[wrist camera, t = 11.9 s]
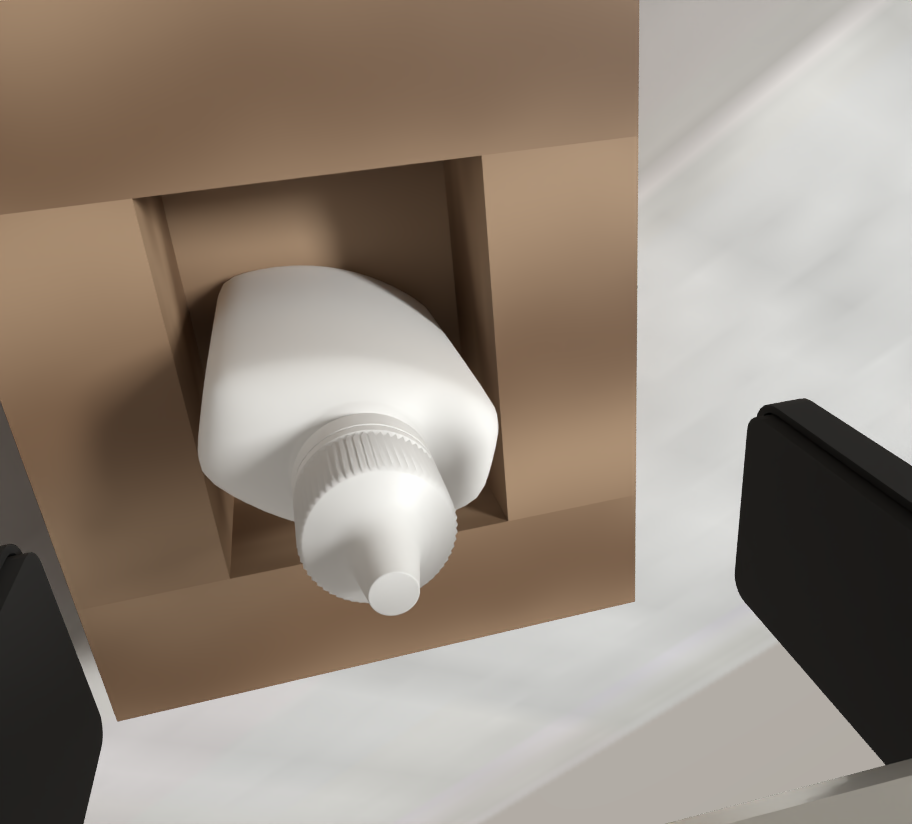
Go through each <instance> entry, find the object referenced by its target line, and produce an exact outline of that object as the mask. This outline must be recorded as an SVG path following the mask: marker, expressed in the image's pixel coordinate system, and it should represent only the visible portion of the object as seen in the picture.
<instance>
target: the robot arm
mask: <svg viewBox="0 0 912 824" xmlns="http://www.w3.org/2000/svg"><path fill="white" fill-rule="evenodd" d="M735 581H736V586H737V589H738V592H739V594H740V596H741V598H742V599H743V600H744V602H745V603H746V604H747V605H748V606H749V608H750V609H751V610H752V611H753V612H754V613H755V614H756V616H757V617H758V618H759V619H760V620H761V621H762V623H763V624H764V625H765V626H766V627H767V628H768V630H769V631H770V632H771V633H772V634H773V635H774V636H775V638H776V639H777V640H778V641H779V642H780V643H781V645H782V646H783V647H784V648H785V649H786V650H787V651H788V653H789V654H790V655H791V656H792V657H793V658H794V660H795V661H796V662H797V663H798V664H799V665H800V666H801V668H802V669H803V670H804V671H805V672H806V673H807V675H808V676H809V677H810V678H811V679H812V680H813V681H814V683H815V684H816V685H817V686H818V687H819V688H820V690H821V691H822V692H823V693H824V694H825V695H826V696H827V698H828V699H829V700H830V701H831V702H832V703H833V705H834V706H835V707H836V708H837V709H838V710H839V712H840V713H841V714H842V715H843V716H844V717H845V718H846V719H847V721H848V722H849V723H850V724H851V725H852V726H853V728H854V729H855V730H856V731H857V732H858V733H859V734H860V736H861V737H862V738H863V739H864V740H865V742H866V743H867V744H868V745H869V746H870V747H871V748H872V750H874V752H875V753H876V754H877V755H878V757H879V758H880V759H881V760H882V761H883V762H884V764H885V766H881V767H878V768H874V769H870V770H866V771H862V772H859V773H855V774H851V775H847V776H844V777H840V778H836V779H832V780H829V781H825V782H821V783H817V784H813V785H809V786H806V787H802V788H798V789H794V790H791V791H787V792H783V793H779V794H776V795H772V796H768V797H764V798H761V799H756V800H753V801H749V802H745V803H741V804H738V805H734V806H730V807H726V808H722V809H719V810H716V811H712V812H708V813H704V814H700V815H697V816H693V817H689V818H685V819H682V820H678V821H674V822H671V823H667V824H912V466H911V465H910V464H908V463H907V462H905V461H903V460H902V459H900V458H899V457H897V456H896V455H894V454H893V453H891V452H889V451H888V450H886V449H885V448H883V447H882V446H880V445H879V444H877V443H876V442H874V441H872V440H871V439H869V438H868V437H866V436H865V435H863V434H862V433H860V432H859V431H857V430H855V429H854V428H852V427H851V426H849V425H848V424H846V423H845V422H843V421H841V420H840V419H838V418H837V417H835V416H834V415H832V414H831V413H829V412H828V411H826V410H824V409H823V408H821V407H820V406H818V405H817V404H815V403H814V402H812V401H810V400H808V399H805V398H803V399H796V400H791V401H785V402H780V403H774V404H769V405H765V406H763V407H762V408H761V409H760V410H759V412H758V414H757V417H755V418H753V419H751V420H750V422H749V424H748V429H747V438H746V450H745V461H744V473H743V484H742V496H741V507H740V519H739V531H738V542H737V554H736V565H735ZM102 738H103V731H102V722H101V717H100V714H99V711H98V708H97V706H96V703H95V700H94V698H93V695H92V693H91V690H90V687H89V685H88V682H87V680H86V677H85V675H84V672H83V669H82V667H81V664H80V662H79V659H78V657H77V654H76V651H75V649H74V646H73V644H72V641H71V639H70V636H69V633H68V631H67V628H66V626H65V623H64V621H63V618H62V615H61V613H60V610H59V608H58V605H57V603H56V600H55V597H54V595H53V592H52V590H51V587H50V584H49V582H48V579H47V577H46V574H45V572H44V569H43V566H42V564H41V562H40V560H39V558H38V557H37V555H36V554H35V553H32V552H31V553H25V554H22V552H21V550H20V549H19V548H18V547H17V546H16V545H13V544H8V545H3V546H0V824H83V823H84V819H85V815H86V811H87V806H88V802H89V798H90V794H91V789H92V785H93V781H94V776H95V772H96V768H97V764H98V759H99V755H100V751H101V746H102Z"/></svg>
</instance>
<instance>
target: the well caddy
mask: <svg viewBox="0 0 912 824" xmlns="http://www.w3.org/2000/svg"><path fill="white" fill-rule="evenodd" d="M638 89H639V0H1V1H0V401H1V404H2V407H3V409H4V412H5V415H6V418H7V420H8V423H9V426H10V429H11V431H12V434H13V437H14V440H15V442H16V445H17V448H18V451H19V453H20V456H21V459H22V462H23V464H24V467H25V470H26V472H27V475H28V478H29V481H30V483H31V486H32V489H33V492H34V494H35V497H36V500H37V503H38V505H39V508H40V511H41V514H42V516H43V519H44V522H45V525H46V527H47V530H48V533H49V536H50V538H51V541H52V544H53V546H54V549H55V552H56V555H57V557H58V560H59V563H60V566H61V568H62V571H63V574H64V577H65V579H66V582H67V585H68V588H69V590H70V593H71V596H72V599H73V601H74V604H75V607H76V610H77V612H78V615H79V618H80V620H81V623H82V626H83V629H84V631H85V634H86V637H87V640H88V642H89V645H90V648H91V651H92V653H93V656H94V659H95V662H96V664H97V667H98V670H99V673H100V675H101V678H102V681H103V683H104V686H105V689H106V692H107V694H108V697H109V700H110V703H111V705H112V708H113V711H114V714H115V716H116V719H117V722H118V721H122V720H126V719H131V718H135V717H139V716H144V715H148V714H152V713H156V712H161V711H165V710H169V709H174V708H178V707H182V706H187V705H191V704H195V703H200V702H204V701H208V700H213V699H217V698H221V697H225V696H230V695H234V694H238V693H243V692H247V691H251V690H256V689H260V688H264V687H269V686H273V685H277V684H281V683H286V682H290V681H294V680H299V679H303V678H307V677H312V676H316V675H320V674H325V673H329V672H333V671H338V670H342V669H346V668H350V667H355V666H359V665H363V664H368V663H372V662H376V661H381V660H385V659H389V658H394V657H398V656H402V655H407V654H411V653H415V652H419V651H424V650H428V649H432V648H437V647H441V646H445V645H450V644H454V643H458V642H463V641H467V640H471V639H475V638H480V637H484V636H488V635H493V634H497V633H501V632H506V631H510V630H514V629H519V628H523V627H527V626H532V625H536V624H540V623H544V622H549V621H553V620H557V619H562V618H566V617H570V616H575V615H579V614H583V613H588V612H592V611H596V610H600V609H605V608H609V607H613V606H618V605H622V604H626V603H631V602H635V508H636V369H637V229H638ZM297 265H306V266H324V267H331V268H338V269H343V270H348V271H352V272H356V273H359V274H362V275H365V276H369V277H371V278H374V279H377V280H379V281H382V282H384V283H386V284H388V285H391V286H393V287H395V288H397V289H398V290H400V291H402V292H404V293H406V294H407V295H409V296H411V297H412V298H414V299H415V300H417V301H418V302H420V303H421V304H422V305H424V306H425V307H426V308H427V310H428V311H429V312H430V314H431V315H432V317H433V318H434V319H435V321H436V322H437V324H438V325H439V326H440V328H441V329H442V331H443V332H444V333H445V335H446V336H447V338H448V339H449V340H450V342H451V343H452V345H453V346H454V348H455V349H456V350H457V352H458V353H459V355H460V356H461V357H462V359H463V360H464V362H465V363H466V365H467V366H468V368H469V369H470V371H471V372H472V373H473V375H474V376H475V378H476V379H477V381H478V382H479V384H480V385H481V386H482V388H483V390H484V391H485V393H486V394H487V396H488V398H489V399H490V401H491V402H492V404H493V406H494V407H495V410H496V413H497V418H498V436H497V442H496V447H495V452H494V456H493V460H492V464H491V467H490V471H489V474H488V477H487V480H486V483H485V486H484V487H483V489H482V490H481V492H480V494H479V495H478V497H477V498H476V499H474V500H473V501H471V502H470V503H469V504H467V505H466V506H464V507H461V508H459V509H457V510H456V512H455V513H456V516H457V520H456V521H457V524H458V525H457V527H456V529H457V531H458V532H457V534H456V535H455V536H456V540H455V542H454V547H453V549H452V550H451V552H452V553H451V554H450V556H449V557H448V560H447V561H446V562H445V563H444V567H442V568H441V569H440V571H439V573H437V574H436V575H435V576H434V578H433V579H431V580H430V581H429V582H428V583H427V584H425V585H423V586H422V587H421V588H420V595H419V598H418V600H417V602H416V604H415V605H414V606H413V607H412V608H411V609H410V610H408V611H406V612H405V613H402V614H399V615H394V616H387V615H382V614H380V613H378V612H376V611H375V610H374V609H373V608H372V607H371V606H370V604H369V603H359V602H351V601H350V600H344V599H343V598H339V597H336V595H332V594H329V592H328V591H325V590H323V587H320V586H318V585H317V582H315V581H313V580H312V577H311V576H309V575H307V570H305V569H304V568H303V563H301V562H300V556H299V555H298V549H297V545H296V533H295V522H294V521H291V520H287V519H284V518H281V517H278V516H276V515H273V514H270V513H268V512H265V511H263V510H261V509H258V508H256V507H254V506H252V505H250V504H247V503H245V502H243V501H242V500H240V499H238V498H236V497H234V496H232V495H230V494H229V493H227V492H226V491H224V490H222V489H221V488H219V487H218V486H216V485H215V484H214V483H213V482H212V481H211V480H210V479H209V478H208V477H207V476H206V475H205V474H204V473H203V471H202V469H201V465H200V461H199V458H198V434H199V424H200V414H201V405H202V396H203V388H204V380H205V373H206V367H207V360H208V354H209V348H210V341H211V335H212V329H213V323H214V317H215V311H216V305H217V299H218V295H219V293H220V290H221V288H222V286H223V284H224V283H225V282H227V281H228V280H230V279H231V278H233V277H234V276H237V275H240V274H243V273H246V272H250V271H255V270H260V269H265V268H272V267H281V266H297Z"/></svg>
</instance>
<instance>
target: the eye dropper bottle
mask: <svg viewBox="0 0 912 824" xmlns="http://www.w3.org/2000/svg"><path fill="white" fill-rule="evenodd" d="M497 436H498V418H497V413H496V410H495V407H494V406H493V404H492V402H491V401H490V399H489V398H488V396H487V394H486V393H485V391H484V390H483V388H482V386H481V385H480V384H479V382H478V381H477V379H476V378H475V376H474V375H473V373H472V372H471V371H470V369H469V368H468V366H467V365H466V363H465V362H464V360H463V359H462V357H461V356H460V355H459V353H458V352H457V350H456V349H455V348H454V346H453V345H452V343H451V342H450V340H449V339H448V338H447V336H446V335H445V333H444V332H443V331H442V329H441V328H440V326H439V325H438V324H437V322H436V321H435V319H434V318H433V317H432V315H431V314H430V312H429V311H428V310H427V308H426V307H425V306H424V305H422V304H421V303H420V302H418V301H417V300H415V299H414V298H412V297H411V296H409V295H407V294H406V293H404V292H402V291H400V290H398V289H397V288H395V287H393V286H391V285H388V284H386V283H384V282H382V281H379V280H377V279H374V278H371V277H369V276H365V275H362V274H359V273H356V272H352V271H348V270H343V269H338V268H331V267H324V266H306V265H297V266H281V267H272V268H265V269H260V270H255V271H250V272H246V273H243V274H240V275H237V276H234V277H233V278H231V279H230V280H228V281H227V282H225V283H224V284H223V286H222V288H221V290H220V293H219V295H218V299H217V305H216V311H215V317H214V323H213V329H212V335H211V341H210V348H209V354H208V360H207V367H206V373H205V380H204V388H203V396H202V405H201V414H200V424H199V434H198V458H199V461H200V465H201V469H202V471H203V473H204V474H205V475H206V476H207V477H208V478H209V479H210V480H211V481H212V482H213V483H214V484H215V485H216V486H218V487H219V488H221V489H222V490H224V491H226V492H227V493H229V494H230V495H232V496H234V497H236V498H238V499H240V500H242V501H243V502H245V503H247V504H250V505H252V506H254V507H256V508H258V509H261V510H263V511H265V512H268V513H270V514H273V515H276V516H278V517H281V518H284V519H287V520H291V521H294V522H295V533H296V545H297V549H298V555H299V556H300V562H301V563H303V568H304V569H305V570H307V575H309V576H311V577H312V580H313V581H315V582H317V585H318V586H320V587H323V590H325V591H328V592H329V594H332V595H336V597H339V598H343V599H344V600H350V601H351V602H359V603H369V604H370V606H371V607H372V608H373V609H374V610H375V611H376V612H378V613H380V614H382V615H387V616H394V615H399V614H402V613H405V612H406V611H408V610H410V609H411V608H412V607H413V606H414V605H415V604H416V602H417V600H418V598H419V595H420V588H421V587H422V586H423V585H425V584H427V583H428V582H429V581H430V580H431V579H433V578H434V576H435V575H436V574H437V573H439V571H440V569H441V568H442V567H444V563H445V562H446V561H447V560H448V557H449V556H450V554H451V553H452V552H451V550H452V549H453V547H454V542H455V540H456V536H455V535H456V534H457V532H458V531H457V529H456V527H457V525H458V524H457V521H456V520H457V516H456V513H455V512H456V510H457V509H459V508H461V507H464V506H466V505H467V504H469V503H470V502H471V501H473V500H474V499H476V498H477V497H478V495H479V494H480V492H481V490H482V489H483V487H484V486H485V483H486V480H487V477H488V474H489V471H490V467H491V464H492V460H493V456H494V452H495V447H496V442H497Z"/></svg>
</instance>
